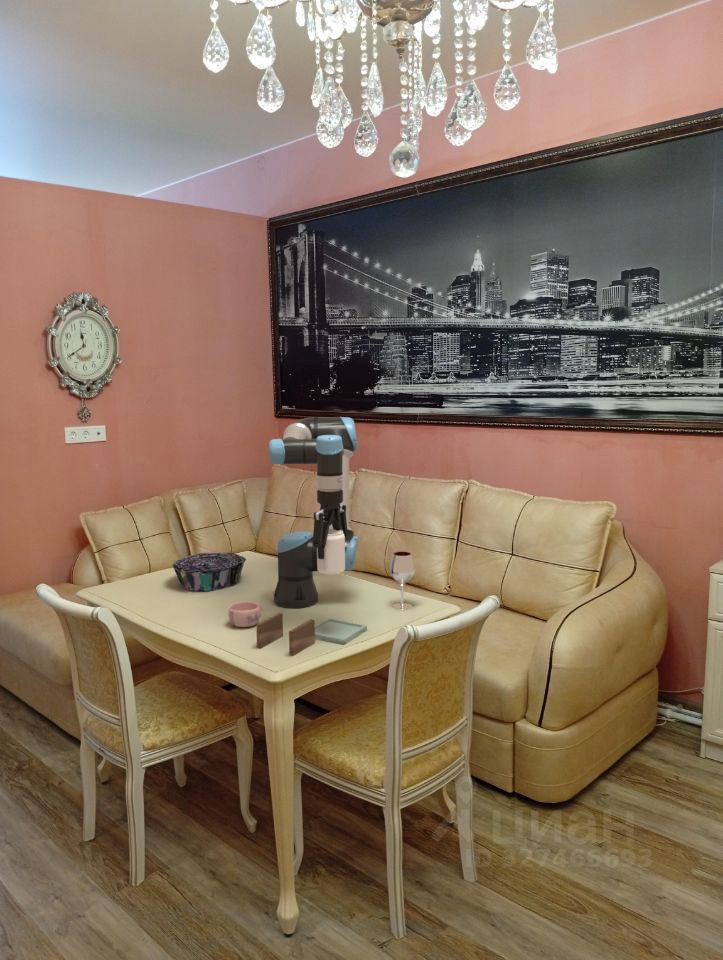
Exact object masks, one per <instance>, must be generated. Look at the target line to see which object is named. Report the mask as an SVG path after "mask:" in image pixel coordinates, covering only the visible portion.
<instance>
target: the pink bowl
mask: <svg viewBox="0 0 723 960" xmlns="http://www.w3.org/2000/svg"><path fill="white" fill-rule="evenodd" d="M262 611H263V607H262V605H261V604H260V603H258V602H255V601H238V602H234V603H232V604H231V605H229V607H228V611H227V612H228V615H227V616H228V618H229V621H230V622H231V624H232V625H233V626H235V627H237V628H248V627H252V626H255V625H256V624H258V623H259V621H260V619H261V617H262V616H261V615H262Z"/></svg>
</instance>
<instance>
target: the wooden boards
mask: <svg viewBox="0 0 723 960" xmlns="http://www.w3.org/2000/svg"><path fill="white" fill-rule="evenodd" d="M283 615H284V613H281V612H278V613H276V614H274V615H271V616H270V617H268V618H266V619H264V620H262V621H260V622H258V623H257V624H255V625H256V648H257V649H260V650H261V649H262V648H265V647H266V646H268V645H270V644H272V643H274V642H275V641H277V640H278V639H281V638H283V637H284V619H283V618H284V616H283ZM315 625H316V624H315V619H314V618H313V619H312V618H311V619H308V620H307V621H304V622H303V623H301V624H299V625H297V626H295V627H294V628H292V629H290V630H289V631H288V645H289V646H288V647H289V649H288V650H289V656H292V657H294V656H296V655H297V654H299V653H301V652H302V651H304V650H306V649H307V648H309V647H310V646H312V645H314V644H315V643H316V639H315Z"/></svg>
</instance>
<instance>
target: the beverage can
mask: <svg viewBox="0 0 723 960" xmlns="http://www.w3.org/2000/svg"><path fill="white" fill-rule="evenodd" d="M325 547H326V548H327V568H328V570H321V569H318V549H317V569H318V571H317V572H319V573H322V574H323V575H338V574H341V573H342V572H345V571H344V570H345V535H344V534H343V531H342V530H339V531H337V530H334V529H329V531H328V536H327V541H326V546H325Z"/></svg>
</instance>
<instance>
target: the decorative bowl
mask: <svg viewBox="0 0 723 960" xmlns="http://www.w3.org/2000/svg"><path fill="white" fill-rule="evenodd" d="M246 561H247V558H245V557H244V556H243V555H240V554H237V553H230V552H219V551H217V552H202V553H201V552H200V553H198V554H197V553H196V554H193V555H192V554H191V555H189V556H184V557H181V558H179V559H177V560H176V561H174V562H173V563H172V564H171V567H172V568H173V570H174V572H175V575H176V577H177V578H178V579H177V580H178V582H179V584H180V586H181V587H182V588H183V589H185V590H187V591H192V592H194V593H197V592H205V593H207V592H211V591H217V590H221V589H225V588H228V587H233V586H235V585H237V583H238V581H239V579H240V578H241V574H242V571H243V568H244V564H245V562H246Z"/></svg>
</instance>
